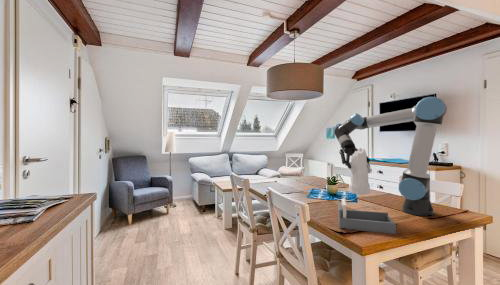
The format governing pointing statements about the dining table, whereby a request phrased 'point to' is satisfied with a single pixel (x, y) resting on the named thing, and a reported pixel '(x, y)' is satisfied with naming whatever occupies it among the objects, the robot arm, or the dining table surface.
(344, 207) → the plate
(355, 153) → the decorative vase
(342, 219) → the grey tray
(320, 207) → the dining table surface
